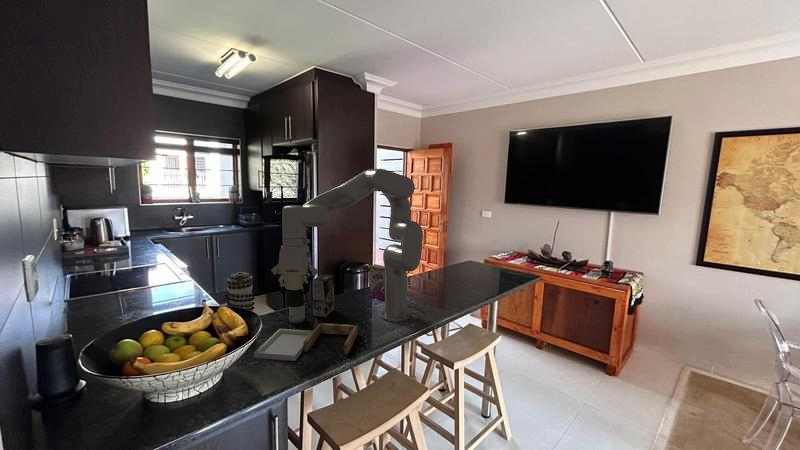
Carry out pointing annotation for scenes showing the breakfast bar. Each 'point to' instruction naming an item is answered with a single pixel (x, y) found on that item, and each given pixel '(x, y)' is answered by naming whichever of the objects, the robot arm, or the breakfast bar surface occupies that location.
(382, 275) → the candy bar box
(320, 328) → the bay
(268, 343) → the tray
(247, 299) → the decorative candle
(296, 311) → the travel mug
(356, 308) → the breakfast bar surface
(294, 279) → the character mug
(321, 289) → the coffee box
